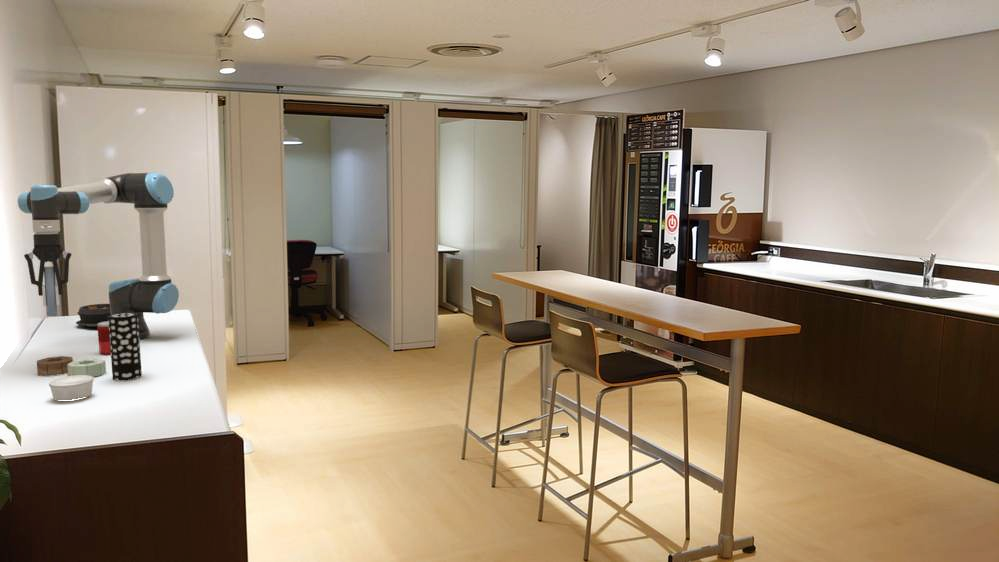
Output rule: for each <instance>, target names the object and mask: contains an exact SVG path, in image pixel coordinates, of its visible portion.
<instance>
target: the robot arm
mask: <svg viewBox="0 0 999 562" xmlns="http://www.w3.org/2000/svg"><path fill="white" fill-rule="evenodd" d="M174 195H175V193H174V187H173V184H172V182H171V180H170V179H169V178H168V177H167V176H166V175H165V174H163V173H158V172H157V173H156V172H140V173H139V172H137V173H135V172H126V173H121V174H116V175H111V176H108V177H103V178H100V179H98V180H97V181H94V182H89V183H88V182H87V183H83V184H76V185H75V184H74V185H68V186H64V187H58V186H57V185H54V184H51V185H49V184H47V185H46V184H37V185H36V184H34V185H32V186H31V187H30V190H29V191H23V192H21V193H20V194H19V195H18V197H17V205H18V209H20V211H21V212H22V213H25V214H29V215H30V214H31V217H32V218H31V219H32V221H31V222H32V233H34V234H33V235H32V236H33V249H32V251H31V252H29V253H25V254H24V255H23V257H24V259H25V260H26V263H27V267H28V272H29V273H28V274H29V279H30V284H32V285H35V286H37V292H38V296H40V297H42V304H43V305H42V306H43V307H46V293H45V284H43V283H44V267H46V263H49V262H50V263H52V267H54V271H55V280H56V282H57V284H56V285H55V290H56V305H57V306H60V295H63V291H64V290H63V285H64V284H67V283H68V282H69V272H70V271H69V270H70V258H72V252H69V251H68V252H67V251H65V250H64V249H63V247H62V239H61V234H60V232H61V224H60V223H61V221H60V220H61V219H60V215H79V214H80V215H81V214H84V213H86V212H87V211H88V209H89V208H90V205H93V204H98V203H104V204H113V203H114V204H115V203H119V204H120V203H121V204H133V205H134V206H133V207H134V210H135V211H136V212H138V220H139V234H140V236H139V237H140V252H141V253H140V254H141V268H142V270H141V271H142V273H141V274H142V275H141V276H140V277H139V278H133V279H132V278H131V279H125V280H124V279H123V280H118V281H113V282H111V283H109V285H108V299H109V301H108V302H109V303H108V304H110V314H111V315H112V314H119V313H137V314H138V326H139V340H142V339H141V338H143V339H146V337H147V338H148V336H149V337H150V329H149V327H148V325H147V322H146V320H145V318H144V314H145V313H151V314H168V313H170V312H172V311H173V309H175V307H176V306H177V304H178V302H179V297H180V291H179V288H178V287H177V286H176V285H175V284H174V283H172V278H171V276H170V275H169V274H168V273H167V272H168V271H167V270H168V269H167V255H166V254H167V253H166V239H165V238H166V235H165V218H164V216H165V215H164V214H165V211H166V210H168V204H169V203H171V202H172V200H173V198H174ZM62 255H63V256H62ZM34 256H35V258H37V260H39V270H38V271H39V272H38V279H37V280H36V274H35V268H34V263H33V259H34ZM61 256H62V257H63V258H64V270H63V279H62V276H61V271H60V268H59V263H58V259H59V258H60V257H61Z"/></svg>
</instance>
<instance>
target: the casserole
mask: <svg viewBox="0 0 999 562" xmlns="http://www.w3.org/2000/svg"><path fill="white" fill-rule="evenodd" d="M76 314H77V315H78V316H79V318H80V320H78V321H76V322H75V324H76V325H78V326H84V327H85V326H86V328H91V327H97V325H98V323H101V322H107V321H108V316H109V315H111V314H110V303H98V304H97V303H95V304H88V305H83V306H81V307H79V309H78V312H77V313H76ZM97 328H98V327H97Z"/></svg>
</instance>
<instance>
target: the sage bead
mask: <svg viewBox="0 0 999 562" xmlns="http://www.w3.org/2000/svg"><path fill="white" fill-rule="evenodd" d="M67 366H68V373H67V375H68V376H75V375H88V376H92V377H93V378H95V376H97V377H101V376H100V375H102V376H103V375H105V374H106V373H107V367H106V366H107V363H106V360H105V359H102V358H84V359H79V360H73V362H71V363H69V364H67ZM104 373H105V374H104Z"/></svg>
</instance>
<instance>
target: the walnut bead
mask: <svg viewBox="0 0 999 562" xmlns="http://www.w3.org/2000/svg"><path fill="white" fill-rule="evenodd" d="M73 359H74V358H73V356H66V355H63V356H60V355H59V356H52V357H50V356H49V357H45V358H41V359H38V360H36V371H37V372H36V374H37V376H40V375H54V376H58V375H57V374H62V375H65V373H66V374H68V366H67V364H69V363H71V362H73V361H74V360H73Z"/></svg>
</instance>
